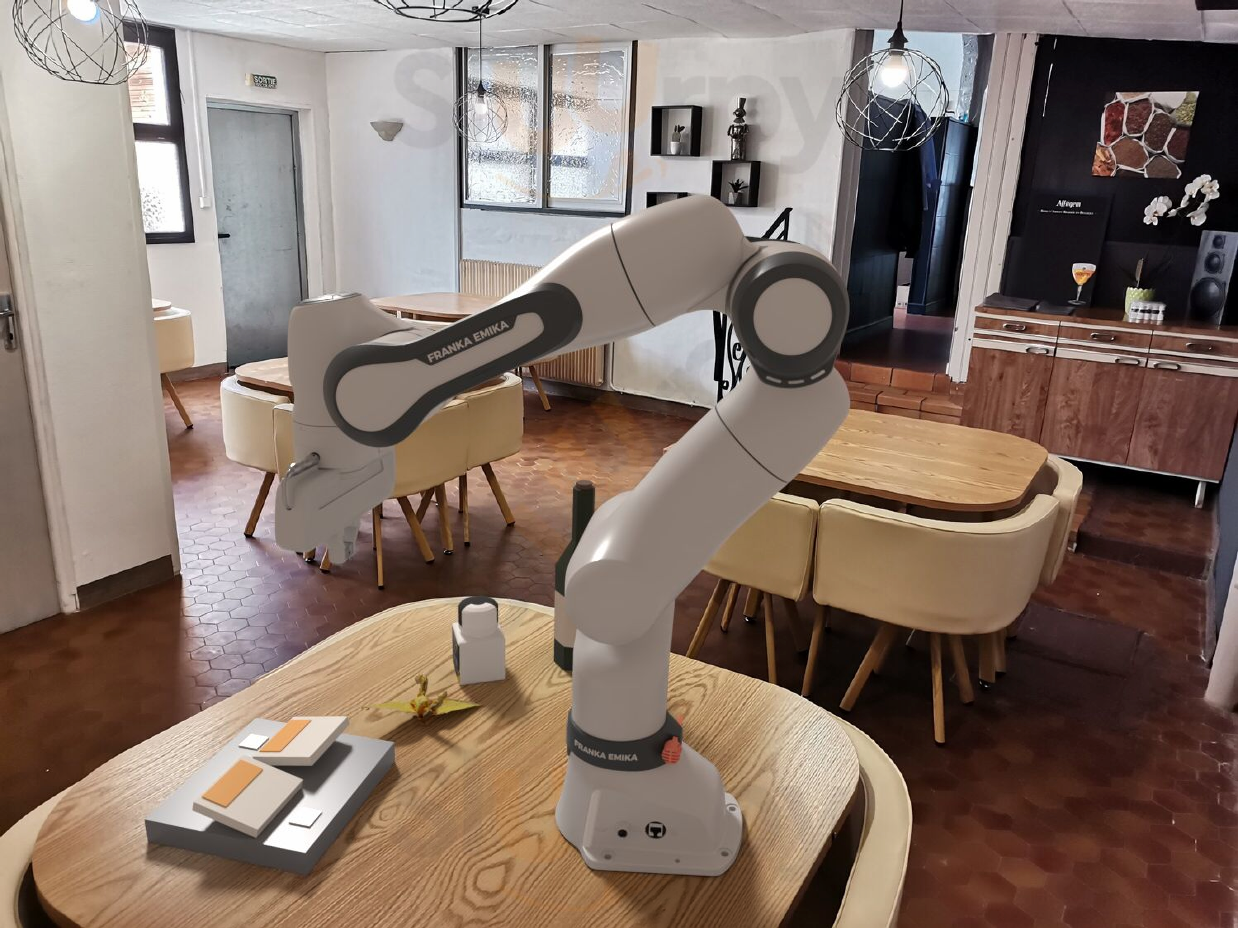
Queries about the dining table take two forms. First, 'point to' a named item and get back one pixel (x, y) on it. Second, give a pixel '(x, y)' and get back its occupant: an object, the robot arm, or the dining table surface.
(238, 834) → the switch panel
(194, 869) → the dining table surface
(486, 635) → the medicine bottle
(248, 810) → the left rocker
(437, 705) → the origami crane
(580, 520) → the wine bottle
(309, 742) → the right rocker
